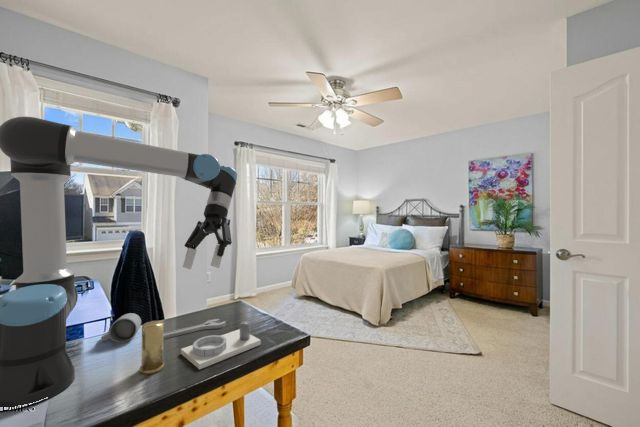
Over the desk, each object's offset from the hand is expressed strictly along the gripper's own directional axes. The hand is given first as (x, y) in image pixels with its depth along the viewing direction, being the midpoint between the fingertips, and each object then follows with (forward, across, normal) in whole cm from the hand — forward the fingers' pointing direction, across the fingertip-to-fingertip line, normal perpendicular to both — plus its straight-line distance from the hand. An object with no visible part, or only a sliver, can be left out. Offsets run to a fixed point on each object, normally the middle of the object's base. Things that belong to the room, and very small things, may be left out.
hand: (200, 267), depth 91 cm
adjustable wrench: (+19, +16, -14) cm, 28 cm away
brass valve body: (+29, +3, +4) cm, 29 cm away
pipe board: (+22, -5, -12) cm, 26 cm away
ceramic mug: (+23, +28, +1) cm, 37 cm away
